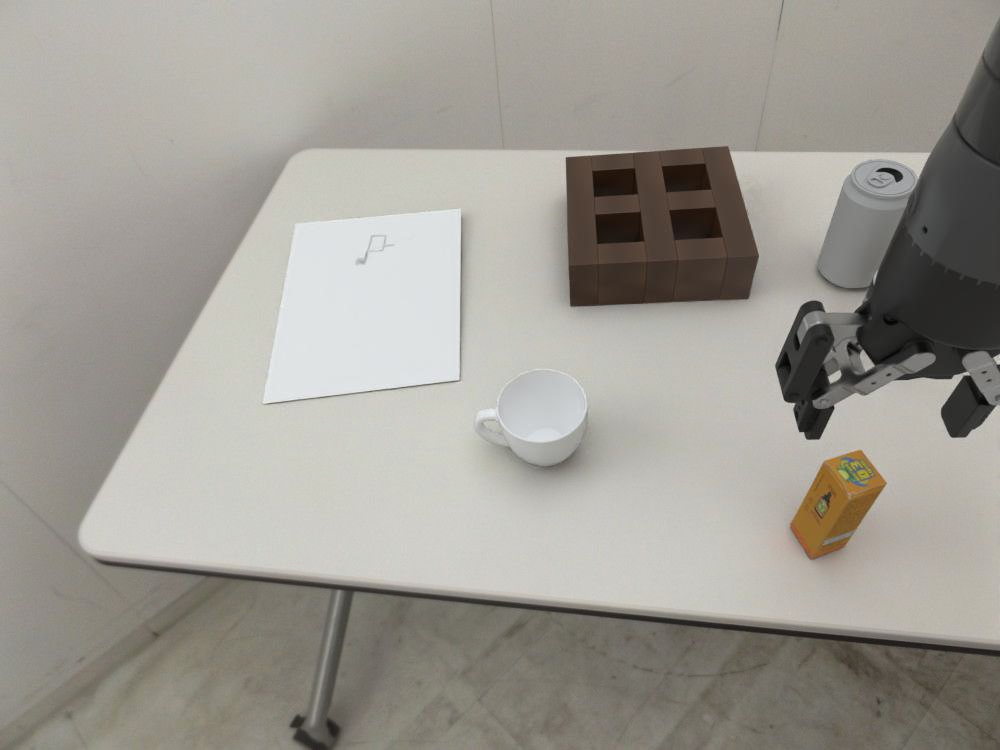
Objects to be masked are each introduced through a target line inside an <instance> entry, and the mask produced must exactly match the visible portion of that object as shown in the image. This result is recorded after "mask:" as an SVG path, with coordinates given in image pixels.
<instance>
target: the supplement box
mask: <svg viewBox="0 0 1000 750" xmlns="http://www.w3.org/2000/svg"><path fill="white" fill-rule="evenodd" d="M887 484H888V483H887V480H885V478H884V477H883V476H882V474H880V472H879V471H878V469H877V468H876V467H875V466H874V465H873V463H872V462H871V461H870V459H869V458H868V457H867V455H866V454H865V453H864V452H863V450H861V449H857V450H854V451H851V452H847V453H844V454H841V455H838V456H835V457H831V458H829V459H826V460H824V461H823V462H822V464H821V466H820V468H819V470H818V472H817V473H816V475H815V478H814V479H813V481H812V483H811V485H810V487H809V489H808V491H807V493H806V494H805V496H804V498H803V500H802V501H801V504H800V506H799V508H798V509H797V511H796V513H795V514H794V516H793V518H792V520H791V522H790V523H789V527H790V529H791V531H792V532H793V534H794V536H795V537H796V539H797V540H798V541H799V543H800V544H801V546H802V548H803V549H804V551H805V552H806V554H807V555H808V557H809V559H812V560H814V559H817V558H820V557H822V556H825V555H827V554H829V553H833V552H835V551H837V550H841V549H843V548H845V547H846V545H847V544H848V543H849V541H850V540H851V538H852V537H853V536H854V533H855V532H856V531H857V530H858V528H859V526H860V525H861V524H862V522H863V520H864V519H865V517H866V516H867V514H868V513H869V511H870V510H871V508H872V507H873V505H874V504H875V502H876V501H877V499H879V497H880V495H881V493H882V492H883V490H884V489H885V487H886V486H887Z"/></svg>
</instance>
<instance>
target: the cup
mask: <svg viewBox="0 0 1000 750" xmlns="http://www.w3.org/2000/svg"><path fill="white" fill-rule="evenodd" d="M495 404H496V405H495V407H489V408H484V409H481V410H479V411H477V412H476V413H475V415H474V419H473V428H474V431H475V433H476V434H477V435H478V436H479V437H480V438H482V439H483V440H485V441H487V442H489V443H492V444H495V445H498V446H501V447H508V448H509V449H510V450H511V451H512V452H513V453H514V454H515V455H516V456H517V457H518V458H520V459H521V460H522V461H524V462H526V463H528V464H531V465H534V466H536V467H537V466H538V467H551V466H555V465H559V464H561V463H563V462H565V461H566V460H567V459H568V458H570V457H571V456H572V455H573V454H574V453H575V452H576V451H577V449H578V448H579V446H580V445H581V443H582V442H583V439H584V437H585V434H586V431H587V426H588V418H589V416H588V415H589V406H588V404H589V401H588V396H587V393H586V391H585V389H584V387H583V386H582V385H581V383H580V382H579V380H577V379H576V378H574V377H573V376H572V375H570V374H568V373H566V372H564V371H561V370H558V369H554V368H533V369H530V370H526V371H523V372H521V373H518V374H517V375H515V376H514V377H512V378H511V379H510V380H508V381H507V382H506V383H505V384H504V385H503V387H501V390H500V392H499V393H498V396H497V398H496V403H495ZM489 421H491V422H493V421H494V422H496V423H497V424H498V427H499V428H500V432H501V433H500V432H498V431H495V430H493V429H491V428H490V427H488V426H486V425H485V422H489Z"/></svg>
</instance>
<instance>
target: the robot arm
mask: <svg viewBox="0 0 1000 750" xmlns="http://www.w3.org/2000/svg"><path fill="white" fill-rule="evenodd" d="M963 92H964V93H963V94H962V97H961V98H960V101H959V103H958V105H957V106H956V107H957V108H956V110H955V112H954V114H953V116H952V118H951V119H950V122H949V123H948V124H947V126H946V128H945V130H944V131H943V133H942V134H941V135H940V138H938V140H937V142H936V143H935V145H934V147H933V148H932V150H931V152H930V154H929V155H928V157H927V159H926V161H925V162H924V165H923V167H922V170H921V172H920V174H919V176H918V181H917V183H916V185H915V188H914V189H913V191H912V192H911V194H910V196H909V198H908V202H907V206H906V208H905V210H904V212H903V215H902V217H901V219H900V221H899V224H898V226H897V228H896V230H895V233H894V235H893V237H892V239H891V242H890V244H889V246H888V248H887V251H886V253H885V255H884V257H883V260H882V262H881V264H880V266H879V269H878V272H877V276H876V280H875V284H874V288H873V292H872V295H871V296H870V298H869V299H868V300H867V301H866V302H865V303H864V304H862V303H861V305H859V306H858V307H857V308H856V309H855V310H854V311H853V312H826V309H825V306H824V304H823V303H822V301H820V300H809V301H806V302H804V303H802V304H801V305H800V307H799V308H798V311H797V313H796V315H795V318H794V320H793V322H792V325H791V327H790V329H789V332H788V333H787V336H786V339H785V341H784V343H783V345H782V348H781V350H780V352H779V355H778V357H777V359H776V362H775V364H774V368H775V372H776V375H777V379H778V383H779V386H780V391H781V395H782V398H783V401H784V402H785V403H788V404H794V405H793V409H792V411H793V415H794V419H795V423H796V427H797V429H798V432H799V433H803V434H804V438H805V440H807V441H820V440H821V438H822V436H823V433H824V431H825V429H826V428H827V425H828V423H829V421H830V419H831V417H832V415H833V413H834V411H835V409H836V407H835V406H836V404H838V403H840V402H842V401H843V400H846V399H847V398H849V397H851V396H852V395H854V394H859V396H864V397H865V396H868V395H870V394H871V393H873V392H875V391H878V390H879V389H880V388H883V387H885V386H886V385H888V384H889V383H891V382H893V381H897V382H898V381H910V380H916V379H922V378H923V379H931V380H952V379H953V378H954V376H957V375H962V374H964V373H968V374H966V375H965V374H964V375H963V376H962V377H961V379H960V381H959V382H958V383H957V385H956V386H955V388H954V389H953V390H952V391H951V394H950V395H949V397H948V398H947V399H946V401H945V402H944V404H943V405H942V407H941V409H940V416H941V419H942V422H943V424H944V427H945V429H946V432H947V433H948V436H949V438H951V439H955V438H956V439H965V438H967V437H968V436H969V434H970V433H971V432H972V431H974V430H976V429H977V428H980V426H982V425H983V424H984V422H985V421H986V420H987V418H988V417H989V416H990V415H991V414H992V412H993V411H994V410H995V409H996V407H997V406H1000V363H997V361H996V360H995V358H996V357H998V356H999V355H1000V16H999V17H998V19H997V21H996V23H995V24H994V27H993V29H992V31H991V32H990V34H989V37H988V39H987V41H986V43H985V46H984V48H983V50H982V52H981V54H980V57H979V58H978V61H977V63H976V66H975V67H974V70H973V72H972V75H971V76H970V79H969V81H968V83H967V85H966V88H965V89H964V91H963ZM862 352H864V353H865V355H866V356H867V357H868V358H869V360H870V361H871V363H872V364H873V366H872V367H870V368H869V369H867V370H865V367H864V364H863V361H862V358H861V353H862ZM837 372H840V377H839V378H838V379H837V380H835V381H833V382H832V383H831V382H830V378H829V377H830V376H832V375H834V374H835V373H837Z"/></svg>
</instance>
